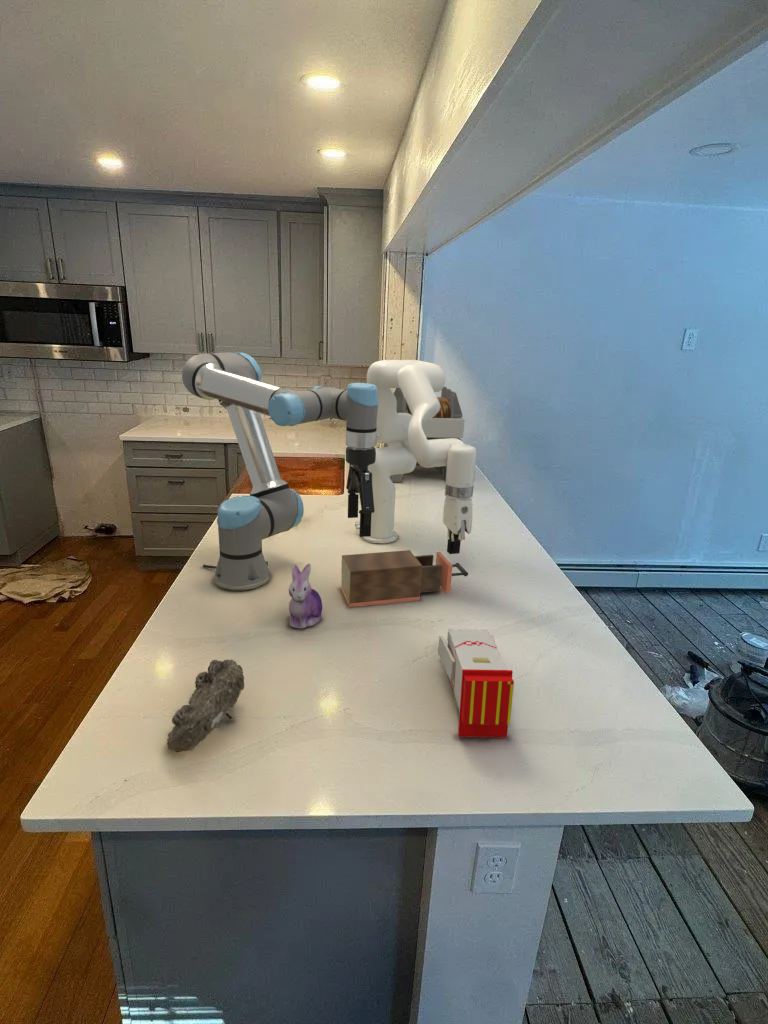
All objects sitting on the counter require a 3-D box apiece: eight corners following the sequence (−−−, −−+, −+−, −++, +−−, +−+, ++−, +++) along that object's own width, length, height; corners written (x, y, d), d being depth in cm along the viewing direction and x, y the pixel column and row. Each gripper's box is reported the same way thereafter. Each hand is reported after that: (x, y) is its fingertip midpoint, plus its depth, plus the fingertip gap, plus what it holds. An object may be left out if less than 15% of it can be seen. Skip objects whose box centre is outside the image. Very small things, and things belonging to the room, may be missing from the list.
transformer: (382, 463, 289) (386, 382, 275) (445, 464, 293) (451, 384, 279) (390, 482, 257) (394, 392, 243) (460, 483, 261) (468, 394, 247)
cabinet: (407, 582, 165) (409, 549, 161) (419, 600, 155) (422, 565, 152) (341, 588, 159) (341, 555, 156) (349, 607, 150) (350, 571, 146)
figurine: (294, 634, 136) (293, 577, 131) (280, 614, 145) (279, 560, 139) (330, 625, 140) (331, 571, 135) (315, 606, 149) (315, 554, 144)
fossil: (192, 660, 117) (244, 628, 112) (224, 691, 120) (276, 661, 115) (142, 746, 98) (202, 712, 93) (182, 779, 101) (242, 748, 96)
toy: (488, 613, 130) (523, 677, 101) (484, 667, 133) (517, 744, 104) (435, 612, 130) (455, 676, 101) (432, 666, 133) (451, 743, 103)
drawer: (455, 576, 168) (458, 550, 165) (468, 590, 159) (471, 563, 157) (377, 583, 161) (378, 556, 158) (386, 599, 153) (388, 570, 150)
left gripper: (389, 459, 131) (385, 543, 138) (363, 435, 153) (361, 509, 161) (358, 460, 129) (355, 546, 136) (336, 436, 151) (335, 511, 158)
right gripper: (483, 498, 147) (476, 562, 153) (460, 482, 161) (455, 541, 167) (456, 500, 145) (450, 565, 151) (435, 483, 159) (431, 543, 165)
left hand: (358, 526), depth 148 cm, fingers open, 13 cm apart
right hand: (453, 552), depth 159 cm, fingers closed
